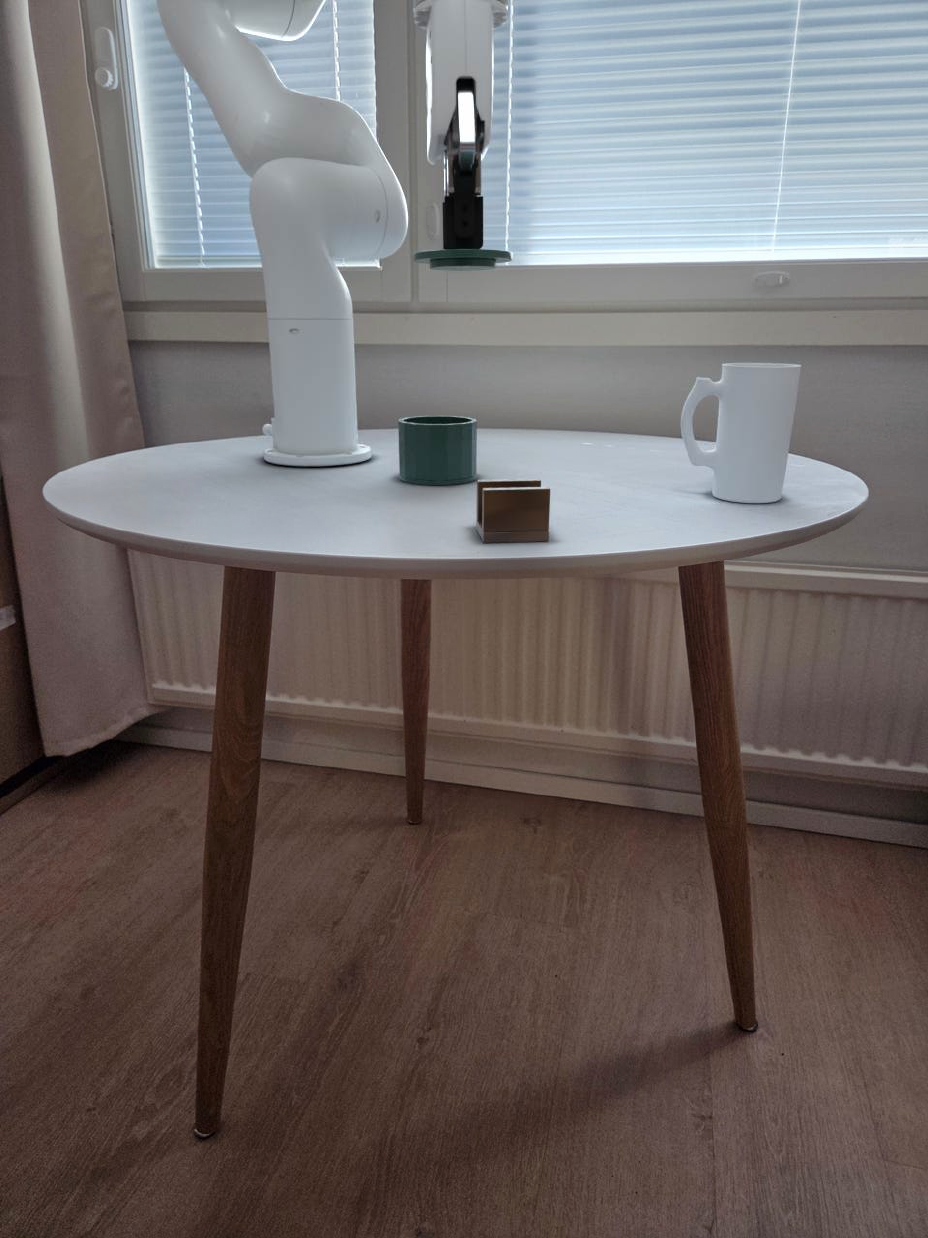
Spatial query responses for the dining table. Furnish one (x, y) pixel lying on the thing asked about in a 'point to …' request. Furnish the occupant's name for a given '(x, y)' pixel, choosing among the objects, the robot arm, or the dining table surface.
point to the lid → (462, 258)
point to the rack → (512, 510)
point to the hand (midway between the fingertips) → (462, 248)
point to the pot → (437, 450)
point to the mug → (746, 429)
